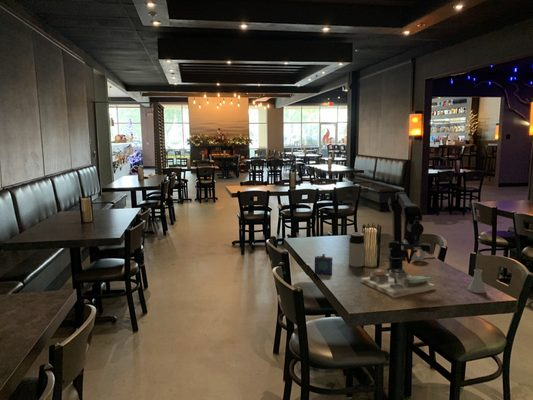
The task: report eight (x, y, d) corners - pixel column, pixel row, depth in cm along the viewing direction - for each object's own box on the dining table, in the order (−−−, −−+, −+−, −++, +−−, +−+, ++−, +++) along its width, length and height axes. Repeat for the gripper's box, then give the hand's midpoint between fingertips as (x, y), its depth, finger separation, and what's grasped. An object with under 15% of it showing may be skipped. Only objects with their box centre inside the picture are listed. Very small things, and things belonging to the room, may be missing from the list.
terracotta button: (372, 275, 205) (372, 270, 204) (379, 273, 206) (379, 269, 206) (378, 277, 201) (378, 272, 200) (385, 276, 202) (385, 271, 202)
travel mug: (352, 267, 230) (353, 235, 227) (346, 263, 237) (347, 232, 235) (365, 266, 231) (366, 234, 229) (359, 262, 239) (360, 231, 236)
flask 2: (475, 294, 190) (477, 273, 188) (464, 289, 197) (465, 268, 195) (489, 293, 192) (490, 272, 190) (477, 287, 198) (478, 267, 197)
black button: (391, 274, 210) (391, 269, 210) (398, 273, 212) (398, 268, 211) (397, 277, 206) (397, 272, 206) (404, 275, 208) (404, 271, 207)
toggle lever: (393, 284, 193) (389, 269, 195) (396, 283, 194) (392, 268, 196) (396, 283, 192) (392, 268, 194) (399, 283, 193) (395, 268, 194)
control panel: (360, 282, 206) (361, 272, 205) (399, 275, 217) (400, 265, 216) (393, 297, 186) (394, 286, 185) (435, 289, 196) (435, 278, 196)
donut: (412, 263, 239) (413, 245, 237) (408, 261, 242) (409, 244, 241) (426, 261, 242) (427, 244, 241) (422, 259, 245) (423, 243, 244)
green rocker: (401, 281, 199) (401, 278, 199) (418, 278, 204) (418, 275, 204) (413, 283, 192) (413, 280, 192) (431, 279, 197) (431, 276, 197)
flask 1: (332, 273, 219) (332, 253, 218) (331, 275, 217) (332, 255, 215) (314, 272, 221) (314, 252, 220) (314, 274, 219) (314, 254, 217)
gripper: (387, 232, 196) (386, 265, 197) (430, 236, 188) (429, 270, 190) (390, 228, 206) (389, 260, 208) (431, 231, 199) (429, 264, 200)
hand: (408, 263), depth 201 cm, fingers closed
